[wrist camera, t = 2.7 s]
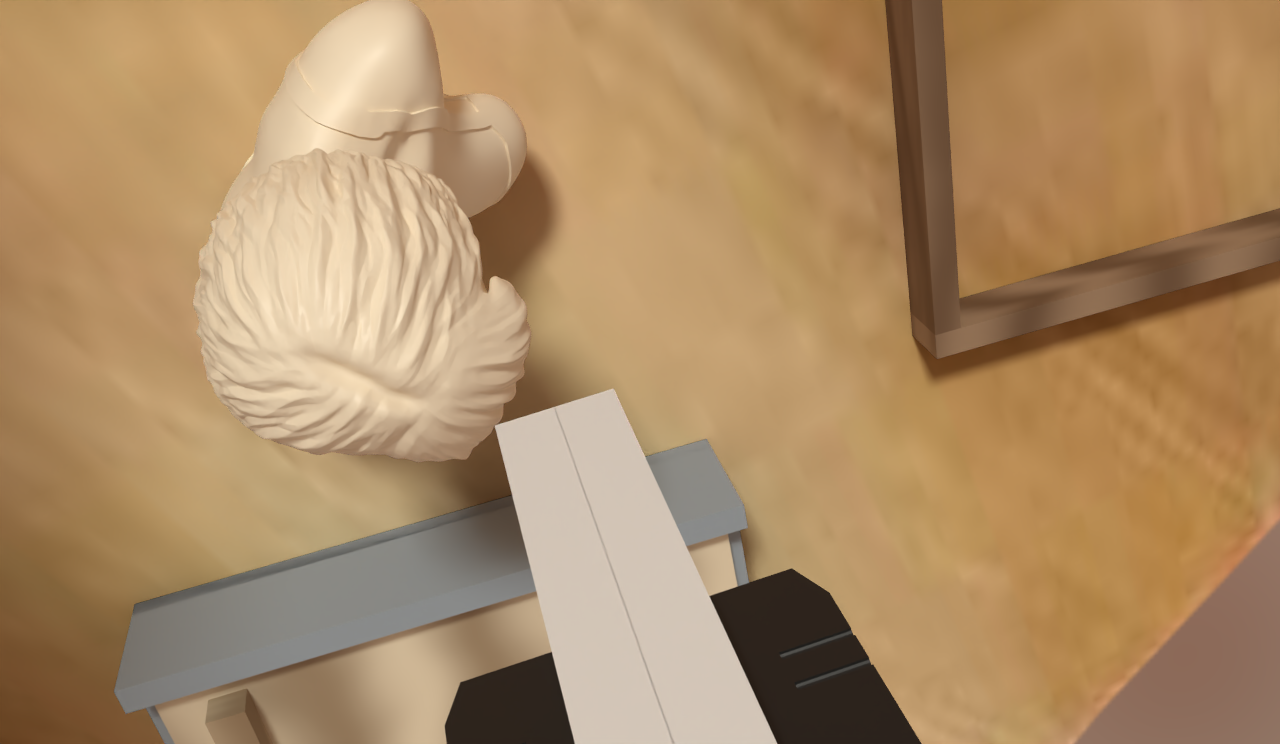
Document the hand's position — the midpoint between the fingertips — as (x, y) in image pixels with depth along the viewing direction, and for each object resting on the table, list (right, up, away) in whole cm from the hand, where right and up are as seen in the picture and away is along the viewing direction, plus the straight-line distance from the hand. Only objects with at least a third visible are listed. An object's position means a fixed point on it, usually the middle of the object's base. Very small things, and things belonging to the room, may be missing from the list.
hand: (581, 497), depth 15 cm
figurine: (-10, +10, +30) cm, 33 cm away
